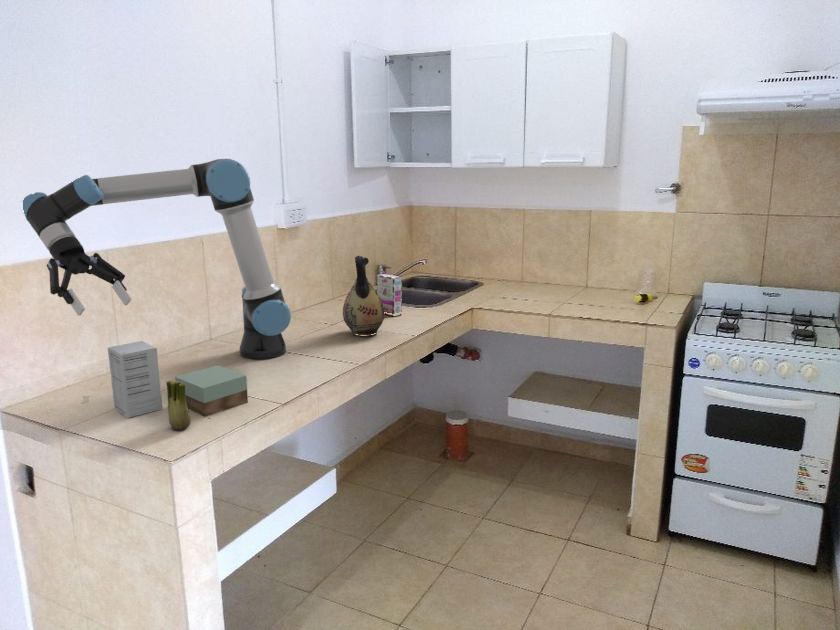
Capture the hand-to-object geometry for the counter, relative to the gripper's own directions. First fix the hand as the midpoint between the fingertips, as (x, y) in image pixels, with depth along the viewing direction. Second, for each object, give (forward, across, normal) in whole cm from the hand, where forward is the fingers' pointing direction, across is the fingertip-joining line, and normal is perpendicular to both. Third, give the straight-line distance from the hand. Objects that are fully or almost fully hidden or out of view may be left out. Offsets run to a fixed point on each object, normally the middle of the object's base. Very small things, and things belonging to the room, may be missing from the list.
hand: (105, 307), depth 167 cm
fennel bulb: (+38, +3, +2) cm, 39 cm away
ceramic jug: (+33, -90, -3) cm, 96 cm away
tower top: (+32, -12, +1) cm, 34 cm away
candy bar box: (+27, -123, -8) cm, 126 cm away
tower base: (+35, -12, -2) cm, 37 cm away
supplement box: (+25, 0, -12) cm, 28 cm away
